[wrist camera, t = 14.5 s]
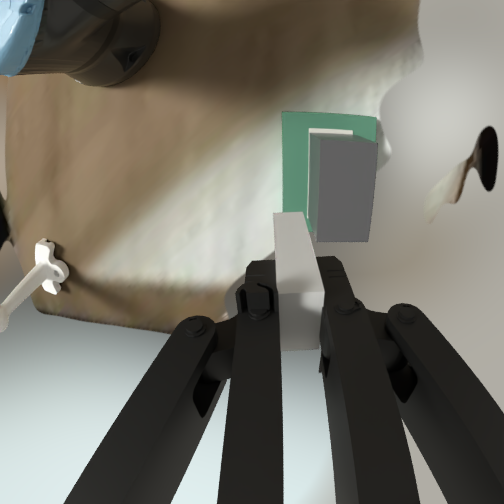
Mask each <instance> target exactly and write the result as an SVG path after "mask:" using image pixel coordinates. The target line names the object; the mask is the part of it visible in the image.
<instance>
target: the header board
mask: <svg viewBox="0 0 504 504" xmlns="http://www.w3.org/2000/svg"><path fill="white" fill-rule="evenodd" d="M376 119H377V117H370V116H360V115H349V114H335V113H316V112H282V159H283V213H284V212H303V214H304V218H305V221H306V225H307V228H308V232H313V230H312V227H311V224H310V221H309V218H308V194H309V132H311V133H335V134H351V135H358V136H360V137H363V138H366V139H368V140H371V141H373V142H376Z"/></svg>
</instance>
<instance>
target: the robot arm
mask: <svg viewBox="0 0 504 504" xmlns="http://www.w3.org/2000/svg"><path fill="white" fill-rule="evenodd" d="M159 33H160V19H159V15H158V12H157V10H156V8H155V7H154V5H153V4H152V3H151V2H150V1H149V0H0V75H5V76H8V77H11V76H15V75H26V74H45V73H65V74H67V75H69V76H70V77H72V78H73V79H75V80H76V81H77V82H79V83H81V84H84V85H88V86H111V85H115V84H118V83H120V82H122V81H124V80H126V79H128V78H129V77H131V76H132V75H134V74H135V73H136V72H137V71H138V70H139V69H140V68H141V67H142V66H143V65H144V64H145V63H146V62H147V60H148V59H149V58H150V56H151V54H152V53H153V51H154V49H155V47H156V44H157V41H158V38H159ZM273 220H274V240H275V260H259V261H252V262H251V263H250V264H249V265H248V266H247V268H246V277H245V284H243V285H241V286H240V287H239V288H238V289H237V291H236V293H235V294H236V301H237V309H238V314H237V315H236V316H235V317H233V318H231V319H229V320H226V321H223V322H219V323H214V321H213V320H211V319H210V318H208V317H205V316H192V317H188V318H186V319H185V320H183V321H181V322H180V323H179V324H178V325H177V327H176V328H175V330H174V331H173V333H172V334H171V336H170V337H169V339H168V340H167V342H166V343H165V345H164V346H163V348H162V349H161V351H160V352H159V354H158V355H157V357H156V358H155V360H154V361H153V363H152V365H151V366H150V368H149V369H148V371H147V372H146V373H145V375H144V376H143V378H142V380H141V381H140V383H139V384H138V386H137V387H136V389H135V390H134V392H133V393H132V395H131V397H130V398H129V400H128V401H127V403H126V404H125V406H124V407H123V409H122V410H121V412H120V413H119V415H118V417H117V418H116V420H115V422H114V423H113V425H112V426H111V428H110V429H109V431H108V432H107V434H106V436H105V437H104V439H103V440H102V442H101V443H100V445H99V447H98V448H97V450H96V451H95V453H94V455H93V456H92V458H91V459H90V461H89V463H88V464H87V466H86V467H85V469H84V471H83V472H82V474H81V476H80V477H79V479H78V481H77V482H76V484H75V485H74V487H73V489H72V491H71V492H70V494H69V495H68V497H67V499H66V500H65V502H64V504H171V501H172V499H173V497H174V495H175V493H176V491H177V489H178V487H179V485H180V482H181V481H182V478H183V476H184V474H185V472H186V470H187V468H188V466H189V464H190V461H191V459H192V457H193V455H194V453H195V451H196V449H197V446H198V444H199V442H200V440H201V438H202V435H203V433H204V431H205V429H206V426H207V424H208V422H209V420H210V418H211V416H212V413H213V411H214V408H215V407H216V404H217V402H218V400H219V397H220V395H221V393H222V391H223V388H224V386H225V384H226V381H227V379H229V378H231V380H230V389H229V398H228V407H227V416H226V425H225V434H224V443H223V452H222V461H221V471H220V481H219V489H218V499H217V504H283V412H282V375H281V351H296V350H313V349H319V344H320V345H321V358H320V366H319V373H321V372H322V375H323V382H324V390H325V398H326V405H327V413H328V422H329V431H330V440H331V449H332V459H333V470H334V481H335V493H336V494H335V495H336V504H420V500H419V494H418V490H417V484H416V479H415V474H414V469H413V465H412V460H411V456H410V451H409V447H408V443H407V439H406V435H405V431H404V427H403V423H402V420H403V421H404V423H405V425H406V427H407V428H408V430H409V432H410V434H411V435H412V437H413V439H414V441H415V443H416V444H417V446H418V448H419V450H420V452H421V454H422V455H423V457H424V459H425V461H426V463H427V465H428V466H429V468H430V470H431V472H432V474H433V476H434V478H435V479H436V481H437V483H438V485H439V487H440V489H441V491H442V493H443V495H444V497H445V499H446V501H447V503H448V504H504V413H503V412H502V411H501V409H500V407H499V406H498V405H497V403H496V402H495V401H494V399H493V398H492V397H491V395H490V394H489V392H488V391H487V390H486V388H485V387H484V386H483V384H482V383H481V382H480V380H479V379H478V378H477V377H476V375H475V374H474V373H473V371H472V370H471V369H470V368H469V367H468V365H467V364H466V363H465V361H464V360H463V359H462V358H461V356H460V355H459V354H458V353H457V352H456V350H455V349H454V348H453V347H452V346H451V344H450V343H449V342H448V341H447V340H446V339H445V337H444V336H443V335H442V334H441V333H440V331H439V330H438V329H437V328H436V327H435V326H434V325H433V324H432V322H431V321H430V320H429V319H428V318H427V317H426V316H425V314H424V313H422V311H421V310H419V309H418V308H417V307H415V306H413V305H411V304H404V303H401V304H396V305H394V306H392V307H391V308H390V309H389V311H388V313H381V312H375V311H370V310H368V309H366V308H365V306H364V305H363V303H362V302H361V301H360V300H358V299H357V298H355V297H354V294H353V291H352V288H351V286H350V283H349V280H348V278H347V275H346V273H345V271H344V267H343V265H342V262H341V261H339V260H338V259H337V258H336V257H335V256H326V257H315V253H314V250H313V246H312V242H311V239H310V235H309V232H308V228H307V225H306V221H305V218H304V214H303V212H284V213H273ZM401 418H402V419H401Z"/></svg>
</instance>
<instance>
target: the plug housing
mask: <svg viewBox="0 0 504 504" xmlns="http://www.w3.org/2000/svg"><path fill="white" fill-rule="evenodd" d="M377 150H378V143H376V142H373V141H371V140H368V139H366V138H363V137H360V136H358V135H351V134H335V133H311V132H309V194H308V218H309V221H310V224H311V227H312V230H313V233H314V237H315V239H316V242H368V238H369V231H370V224H371V216H372V207H373V198H374V189H375V178H376V165H377Z"/></svg>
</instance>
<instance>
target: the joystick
mask: <svg viewBox="0 0 504 504" xmlns="http://www.w3.org/2000/svg"><path fill="white" fill-rule="evenodd" d="M54 248H55V245H54V243H53V242H50V243H48V242H47V239H45V238H43V239H42V240H41V241H39V242H38V243H37V244H36V248H35V260H36V266H35V267H34V268H33V269H32V270H31V271H30V272H29V273H28V274H27V275H26V277H25V278H24V279H23V280H22V281H21V282H20V283H19V285H18V286H17V287H16V288H15V289H14V290H13V291H12V293H11V294H10V295H9V296H8V297H7V298H6V300H5V301H4V302H3V303H2V304H1V305H0V332H3V331H4V330H5V329H6V328H7V326H8V323H9V315H10V314H11V313H12V311H14V310H15V309H16V308H17V307H18V306H19V305H20V304H21V303H22V302H23V300H25V299H26V298H27V297H28V296H29V295H30V294H31V293H32V292H33V291H34V290H35V289H36V288H37V287H39V286H40V285H41V284H42V286H43V288H44V290H45V291H48V292H50V293H53V294H57V293H58V292H59V290H60V289H61V286H60V284H59V283H62V282H63V281H64V280H65V279H66V278H67V277H68V275H69V270H68V267H67V265H66V264H65V263H64V262H63V261H61V260H57V259H55V257H54V255H53V253H54Z"/></svg>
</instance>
